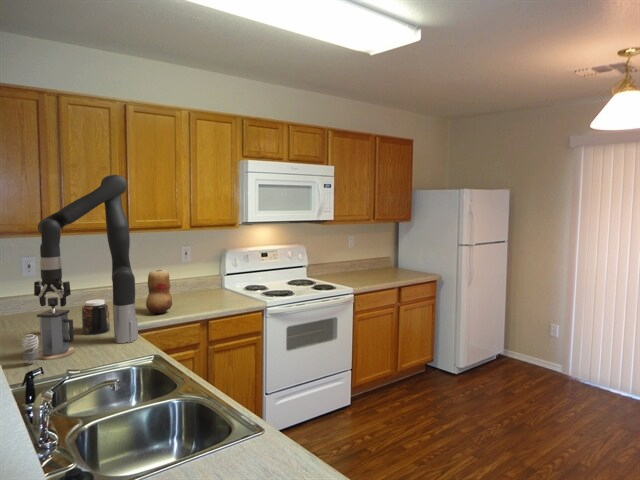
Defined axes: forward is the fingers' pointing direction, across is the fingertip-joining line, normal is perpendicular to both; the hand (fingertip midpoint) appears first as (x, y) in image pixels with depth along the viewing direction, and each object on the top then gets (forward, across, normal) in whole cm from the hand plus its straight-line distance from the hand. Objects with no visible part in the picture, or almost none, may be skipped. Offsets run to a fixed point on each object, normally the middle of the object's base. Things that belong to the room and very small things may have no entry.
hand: (53, 306), depth 189 cm
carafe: (+20, -2, 0) cm, 20 cm away
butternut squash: (+21, -15, -68) cm, 73 cm away
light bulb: (+21, +2, +12) cm, 24 cm away
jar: (+21, +1, -32) cm, 38 cm away
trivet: (+20, 0, 0) cm, 20 cm away
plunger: (+17, 0, 0) cm, 17 cm away
